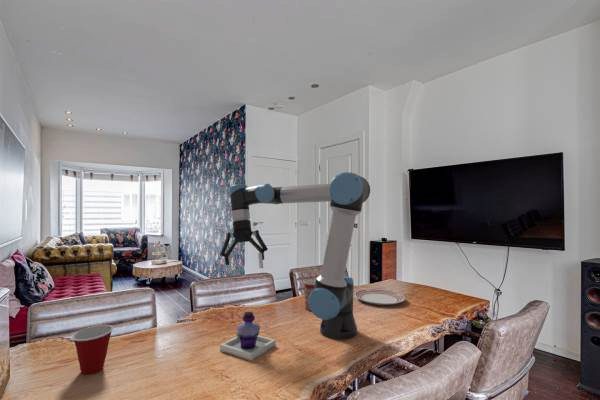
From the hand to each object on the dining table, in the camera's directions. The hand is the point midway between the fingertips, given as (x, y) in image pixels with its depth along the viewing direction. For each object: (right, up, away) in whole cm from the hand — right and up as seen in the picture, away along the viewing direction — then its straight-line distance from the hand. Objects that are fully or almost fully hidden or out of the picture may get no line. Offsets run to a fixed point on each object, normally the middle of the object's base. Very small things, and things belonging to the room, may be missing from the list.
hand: (246, 270), depth 134 cm
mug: (+28, -26, +29) cm, 48 cm away
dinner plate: (+67, -27, +45) cm, 86 cm away
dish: (+4, -24, -19) cm, 31 cm away
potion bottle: (+4, -23, -19) cm, 30 cm away
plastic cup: (-41, -23, -36) cm, 59 cm away
